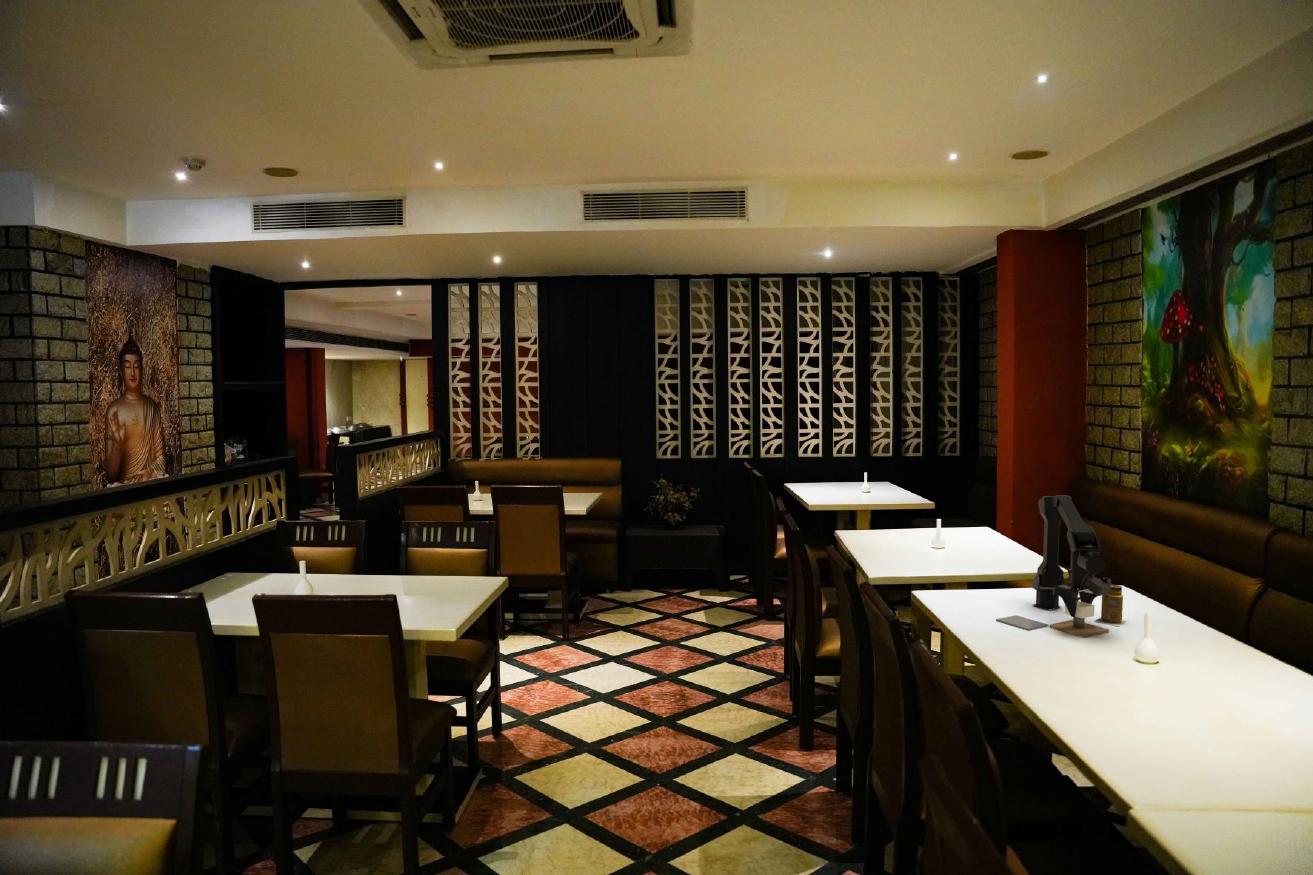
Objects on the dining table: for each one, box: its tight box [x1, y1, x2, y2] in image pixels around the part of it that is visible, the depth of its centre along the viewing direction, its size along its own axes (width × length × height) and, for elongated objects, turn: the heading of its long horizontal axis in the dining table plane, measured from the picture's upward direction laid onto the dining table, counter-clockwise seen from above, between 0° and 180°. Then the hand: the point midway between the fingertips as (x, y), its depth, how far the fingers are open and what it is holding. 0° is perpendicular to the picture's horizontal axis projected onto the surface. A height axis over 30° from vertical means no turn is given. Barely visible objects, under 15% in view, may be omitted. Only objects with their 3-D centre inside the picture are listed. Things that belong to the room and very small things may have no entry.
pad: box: [995, 615, 1050, 632], centre depth 257 cm, size 12×10×1 cm
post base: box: [1048, 617, 1110, 639], centre depth 250 cm, size 12×12×7 cm
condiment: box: [1094, 583, 1127, 627], centre depth 259 cm, size 7×8×12 cm
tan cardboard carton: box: [1064, 600, 1095, 619], centre depth 250 cm, size 6×6×4 cm
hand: (1079, 615), depth 250 cm, fingers closed on tan cardboard carton, 6 cm apart
